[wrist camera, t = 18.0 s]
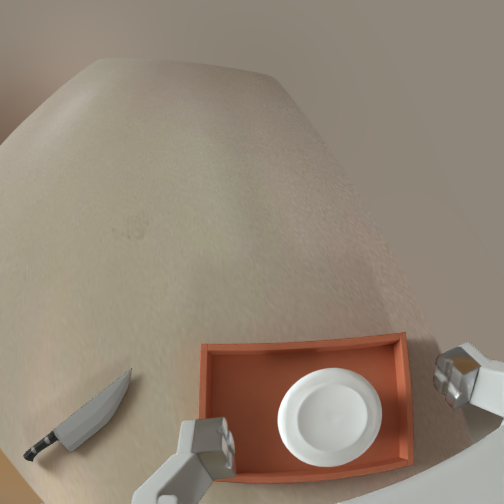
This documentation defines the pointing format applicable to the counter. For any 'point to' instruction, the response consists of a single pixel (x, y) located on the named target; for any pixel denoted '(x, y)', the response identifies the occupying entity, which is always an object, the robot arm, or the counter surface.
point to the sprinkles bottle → (329, 417)
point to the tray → (277, 385)
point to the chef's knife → (85, 419)
